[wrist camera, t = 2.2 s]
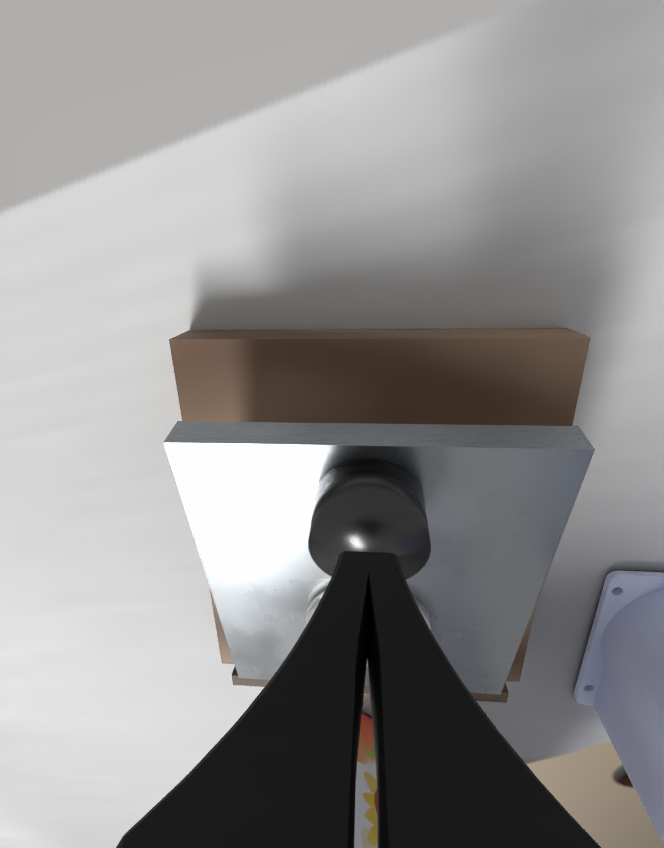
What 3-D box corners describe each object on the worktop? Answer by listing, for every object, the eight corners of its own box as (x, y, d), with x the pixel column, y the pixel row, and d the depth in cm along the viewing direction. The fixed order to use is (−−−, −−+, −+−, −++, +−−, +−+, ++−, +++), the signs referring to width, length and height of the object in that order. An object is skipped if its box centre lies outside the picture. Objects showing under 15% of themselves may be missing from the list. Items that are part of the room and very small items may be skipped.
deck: (494, 669, 22) (511, 742, 19) (244, 654, 23) (227, 722, 20) (578, 426, 13) (628, 497, 11) (177, 421, 15) (134, 485, 12)
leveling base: (508, 648, 24) (527, 703, 21) (232, 633, 26) (214, 683, 23) (566, 328, 18) (606, 344, 15) (188, 330, 19) (155, 345, 16)
